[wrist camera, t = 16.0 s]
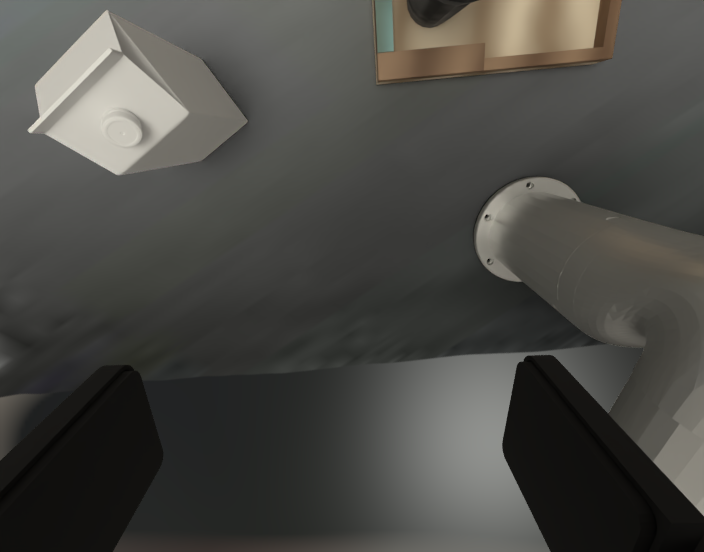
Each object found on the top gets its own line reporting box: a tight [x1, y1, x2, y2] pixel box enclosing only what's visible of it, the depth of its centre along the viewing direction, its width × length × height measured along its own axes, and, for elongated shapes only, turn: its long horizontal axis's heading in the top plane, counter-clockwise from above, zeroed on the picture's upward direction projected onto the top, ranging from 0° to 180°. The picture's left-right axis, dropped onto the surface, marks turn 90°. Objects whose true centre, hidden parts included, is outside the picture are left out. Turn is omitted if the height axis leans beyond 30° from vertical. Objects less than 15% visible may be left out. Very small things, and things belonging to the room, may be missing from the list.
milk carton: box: [28, 10, 248, 175], centre depth 28 cm, size 7×7×19 cm
